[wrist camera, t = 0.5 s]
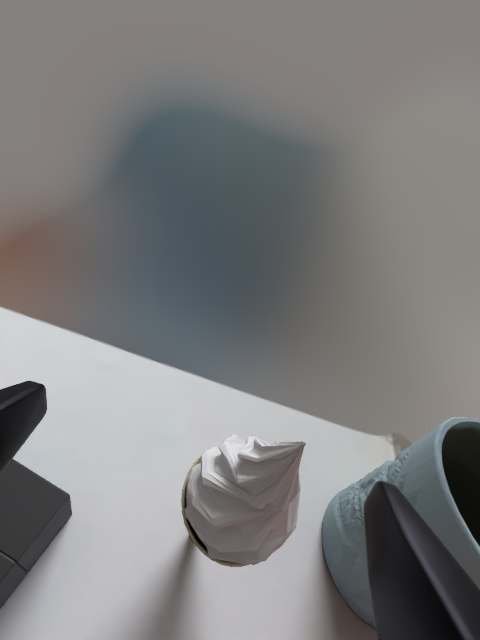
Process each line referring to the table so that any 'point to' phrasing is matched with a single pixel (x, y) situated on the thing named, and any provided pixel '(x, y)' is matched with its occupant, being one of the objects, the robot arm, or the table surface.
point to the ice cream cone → (242, 499)
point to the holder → (26, 522)
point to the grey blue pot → (424, 495)
